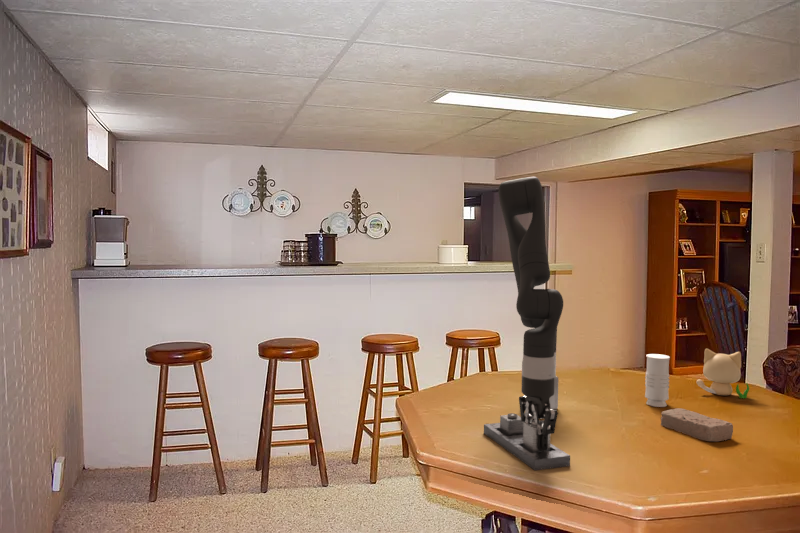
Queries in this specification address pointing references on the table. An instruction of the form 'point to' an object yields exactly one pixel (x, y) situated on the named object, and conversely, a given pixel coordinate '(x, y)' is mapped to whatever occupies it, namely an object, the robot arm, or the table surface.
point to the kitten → (722, 373)
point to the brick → (697, 425)
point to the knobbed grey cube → (511, 425)
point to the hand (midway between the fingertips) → (536, 445)
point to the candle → (657, 379)
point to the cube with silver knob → (532, 437)
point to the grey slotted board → (533, 460)
